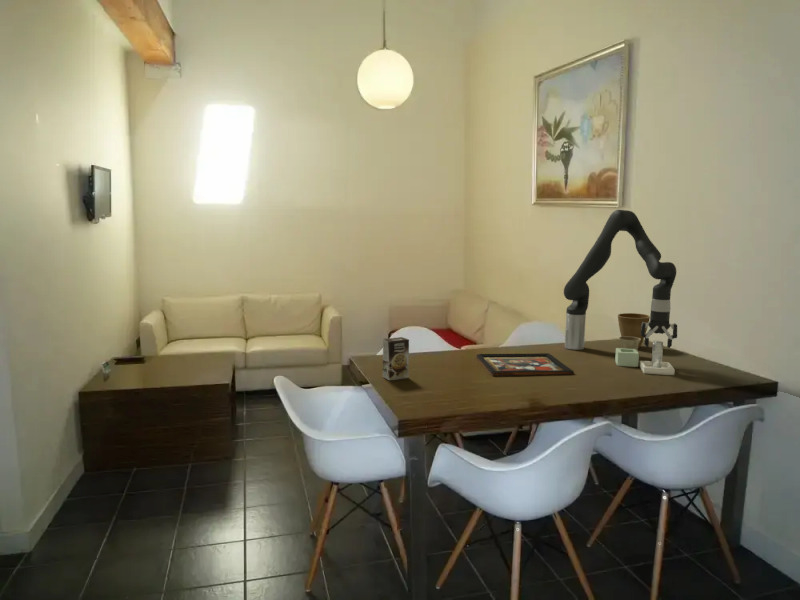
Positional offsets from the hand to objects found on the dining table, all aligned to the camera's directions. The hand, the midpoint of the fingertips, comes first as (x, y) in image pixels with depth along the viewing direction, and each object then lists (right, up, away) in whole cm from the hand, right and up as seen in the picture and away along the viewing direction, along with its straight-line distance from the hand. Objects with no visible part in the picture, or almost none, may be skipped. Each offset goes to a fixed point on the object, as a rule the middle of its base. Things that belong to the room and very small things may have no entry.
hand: (657, 347), depth 264 cm
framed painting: (-56, -10, +9) cm, 57 cm away
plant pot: (+6, -4, +46) cm, 46 cm away
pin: (0, -10, +1) cm, 10 cm away
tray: (0, -10, +2) cm, 10 cm away
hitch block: (-9, -8, +13) cm, 17 cm away
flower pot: (-2, -7, +26) cm, 27 cm away
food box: (-111, -12, -10) cm, 112 cm away
